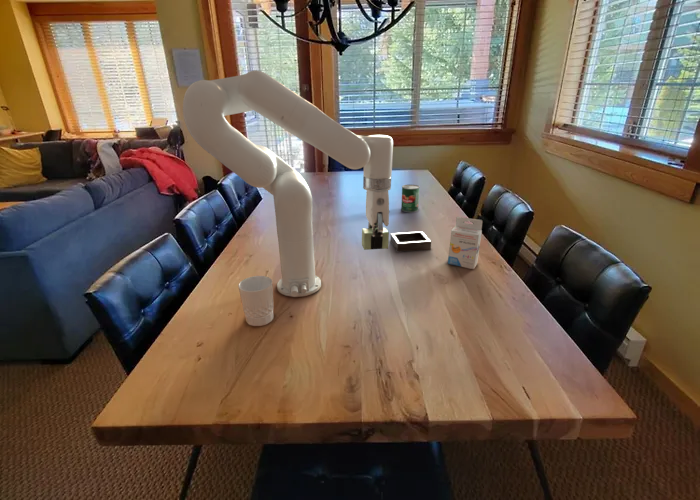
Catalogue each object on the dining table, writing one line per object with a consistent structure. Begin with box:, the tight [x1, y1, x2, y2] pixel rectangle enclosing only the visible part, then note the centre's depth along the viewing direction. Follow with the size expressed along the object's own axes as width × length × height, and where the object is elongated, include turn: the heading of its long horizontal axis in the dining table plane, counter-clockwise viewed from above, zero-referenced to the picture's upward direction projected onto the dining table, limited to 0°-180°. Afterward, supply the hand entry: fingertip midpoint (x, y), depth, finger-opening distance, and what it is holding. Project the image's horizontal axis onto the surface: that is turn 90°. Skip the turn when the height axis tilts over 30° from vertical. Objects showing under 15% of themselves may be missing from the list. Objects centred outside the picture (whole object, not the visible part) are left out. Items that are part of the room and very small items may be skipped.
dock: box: [390, 230, 432, 253], centre depth 134 cm, size 10×12×3 cm
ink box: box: [447, 216, 484, 270], centre depth 117 cm, size 8×5×15 cm, turn 60°
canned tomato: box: [400, 184, 420, 213], centre depth 171 cm, size 8×8×11 cm
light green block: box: [361, 227, 390, 251], centre depth 107 cm, size 4×7×5 cm, turn 98°
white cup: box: [238, 275, 275, 327], centre depth 91 cm, size 8×8×10 cm
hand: (374, 244), depth 108 cm, fingers closed on light green block, 4 cm apart
